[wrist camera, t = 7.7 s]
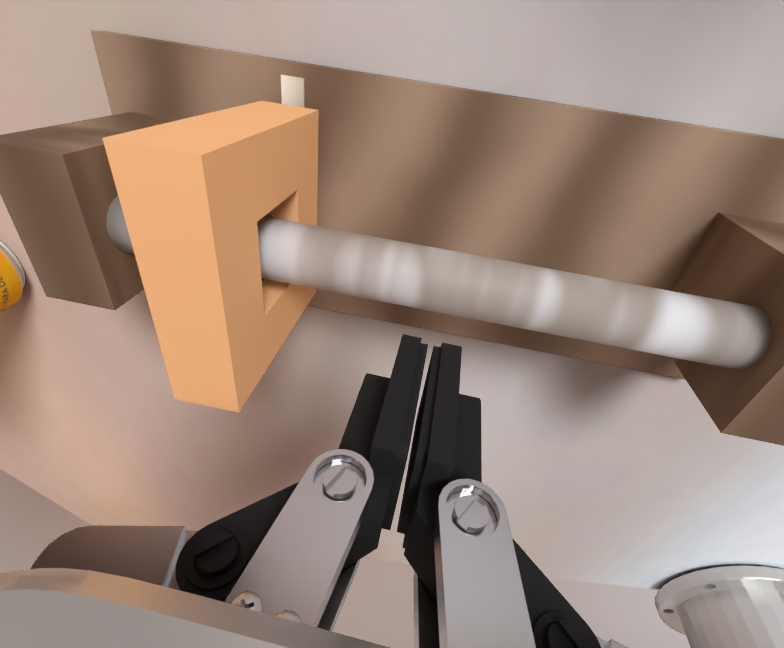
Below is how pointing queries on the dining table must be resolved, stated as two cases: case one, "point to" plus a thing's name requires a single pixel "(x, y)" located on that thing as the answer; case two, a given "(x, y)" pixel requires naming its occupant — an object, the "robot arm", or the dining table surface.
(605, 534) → the dining table surface
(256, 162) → the collar
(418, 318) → the pipe stand
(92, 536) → the robot arm
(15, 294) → the beer can
